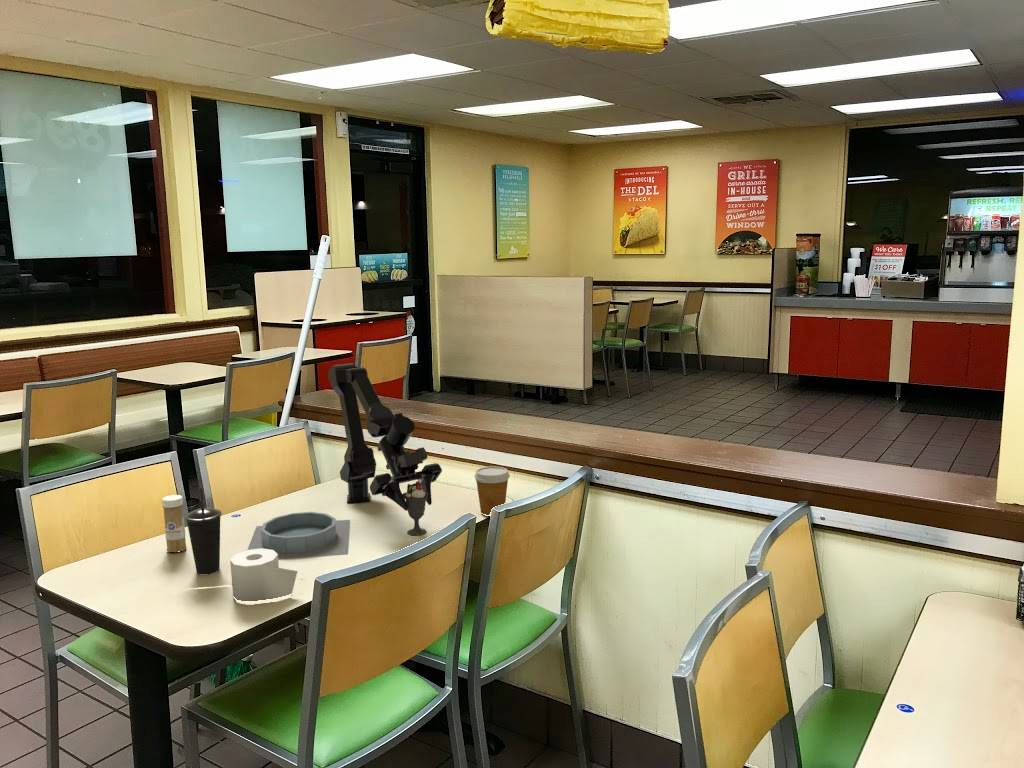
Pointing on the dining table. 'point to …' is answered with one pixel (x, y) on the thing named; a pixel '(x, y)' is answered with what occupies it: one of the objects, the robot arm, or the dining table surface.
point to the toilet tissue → (260, 576)
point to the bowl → (299, 532)
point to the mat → (332, 549)
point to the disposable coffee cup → (491, 487)
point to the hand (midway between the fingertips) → (418, 507)
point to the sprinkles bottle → (174, 523)
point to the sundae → (416, 506)
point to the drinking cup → (205, 537)
